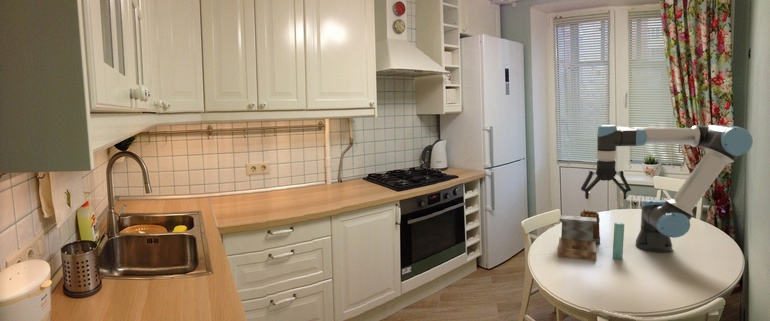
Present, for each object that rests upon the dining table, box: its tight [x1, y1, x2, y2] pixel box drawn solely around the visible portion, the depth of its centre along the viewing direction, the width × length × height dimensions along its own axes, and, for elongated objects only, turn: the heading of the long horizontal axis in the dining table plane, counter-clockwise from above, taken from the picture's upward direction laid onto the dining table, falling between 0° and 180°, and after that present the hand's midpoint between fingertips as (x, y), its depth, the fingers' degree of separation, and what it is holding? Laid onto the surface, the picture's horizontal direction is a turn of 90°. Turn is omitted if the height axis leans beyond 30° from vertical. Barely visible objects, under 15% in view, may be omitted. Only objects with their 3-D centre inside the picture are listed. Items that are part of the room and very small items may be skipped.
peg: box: [612, 222, 625, 261], centre depth 202 cm, size 4×4×16 cm
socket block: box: [557, 214, 598, 262], centre depth 210 cm, size 16×17×15 cm
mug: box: [579, 209, 601, 246], centre depth 227 cm, size 16×11×15 cm
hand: (605, 206), depth 203 cm, fingers open, 13 cm apart
